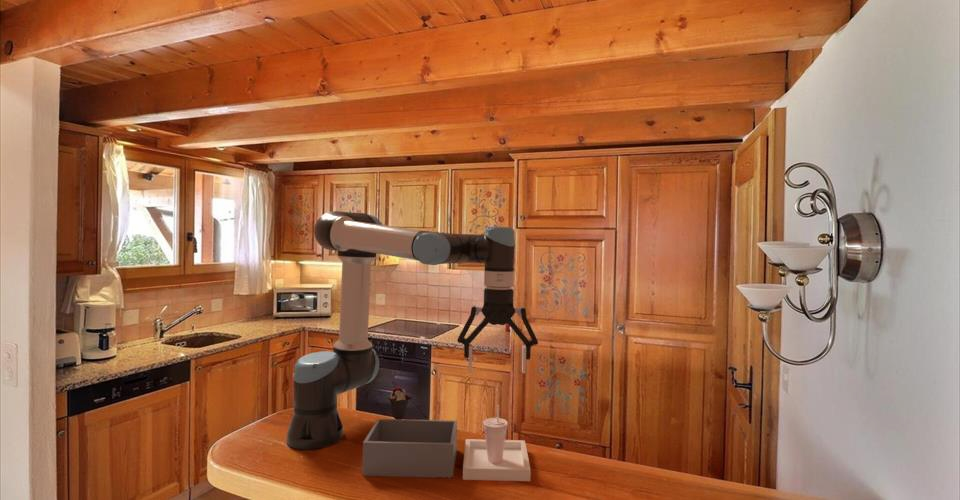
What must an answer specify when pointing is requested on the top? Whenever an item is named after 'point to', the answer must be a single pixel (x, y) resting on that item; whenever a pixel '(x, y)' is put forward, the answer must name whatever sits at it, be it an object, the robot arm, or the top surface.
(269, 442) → the top surface
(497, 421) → the smoothie
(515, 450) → the tray
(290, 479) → the top surface
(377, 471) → the deep bin
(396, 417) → the sundae
